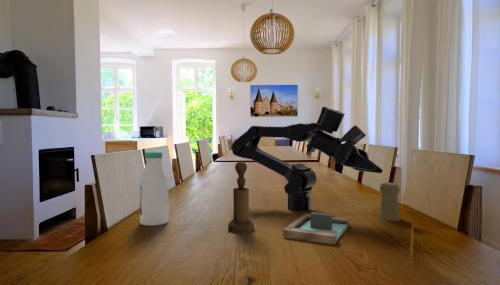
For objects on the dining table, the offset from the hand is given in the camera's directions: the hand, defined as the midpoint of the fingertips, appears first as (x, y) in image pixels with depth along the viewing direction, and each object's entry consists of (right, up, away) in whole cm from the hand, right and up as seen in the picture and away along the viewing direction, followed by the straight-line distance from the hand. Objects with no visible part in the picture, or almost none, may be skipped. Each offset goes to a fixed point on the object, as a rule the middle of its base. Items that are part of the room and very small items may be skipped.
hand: (378, 170), depth 92 cm
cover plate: (-18, -14, -9) cm, 25 cm away
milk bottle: (-62, -15, +2) cm, 64 cm away
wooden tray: (-19, -15, -9) cm, 25 cm away
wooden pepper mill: (-38, -15, -7) cm, 41 cm away
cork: (+4, -15, +3) cm, 16 cm away
